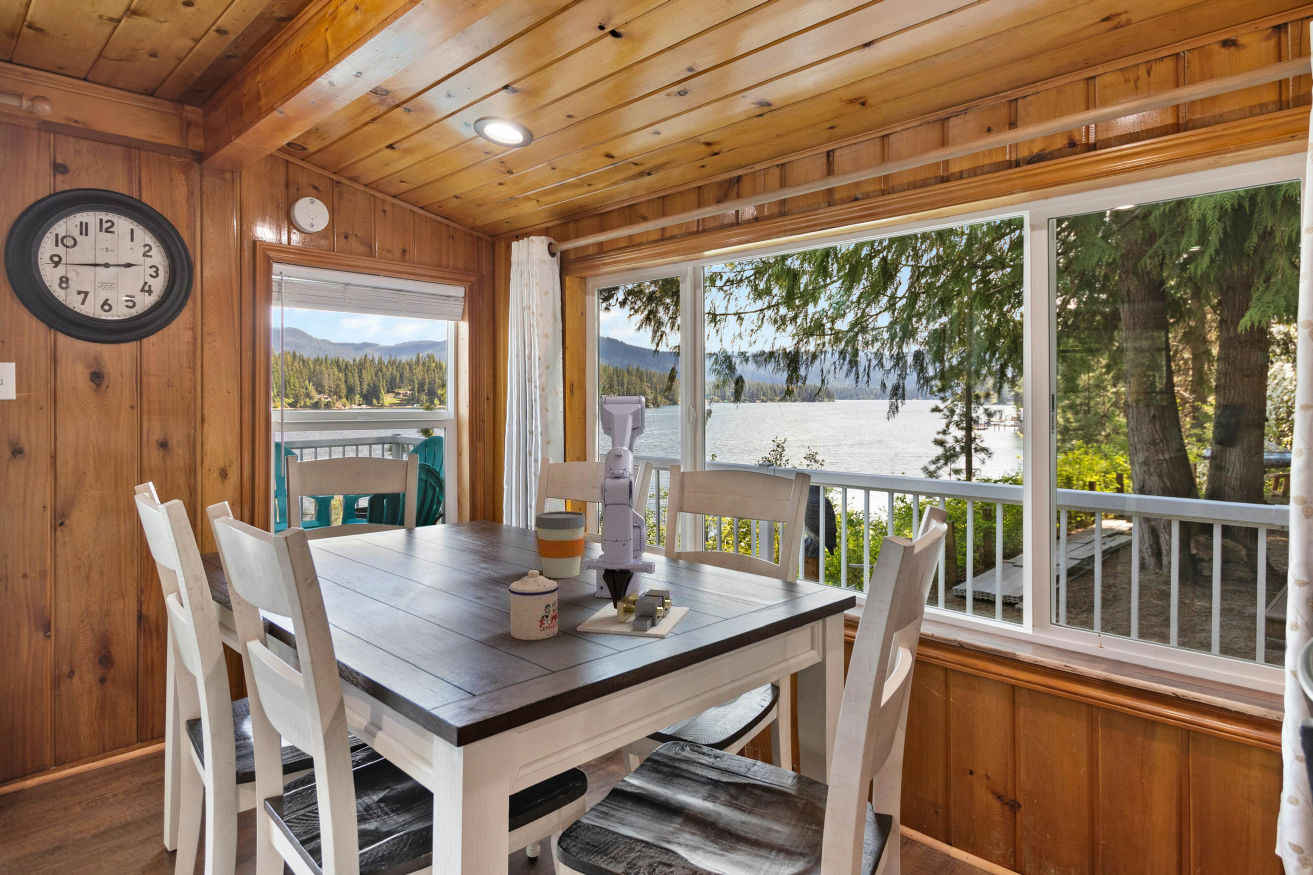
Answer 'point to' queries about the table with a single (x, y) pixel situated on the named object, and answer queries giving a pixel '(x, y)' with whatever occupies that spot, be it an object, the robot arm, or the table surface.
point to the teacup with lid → (533, 607)
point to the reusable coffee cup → (560, 542)
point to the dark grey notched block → (665, 596)
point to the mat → (631, 623)
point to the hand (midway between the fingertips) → (618, 607)
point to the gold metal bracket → (633, 606)
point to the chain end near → (646, 613)
